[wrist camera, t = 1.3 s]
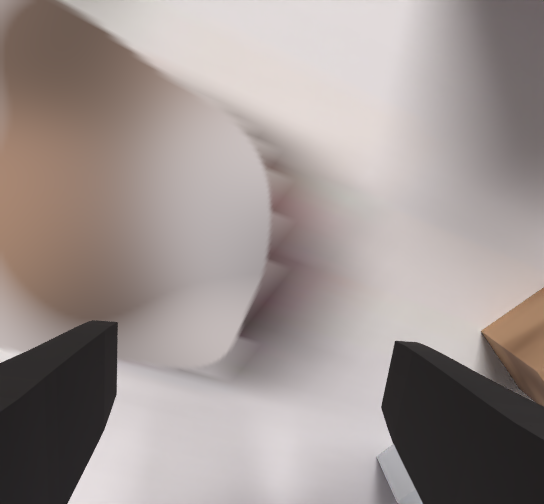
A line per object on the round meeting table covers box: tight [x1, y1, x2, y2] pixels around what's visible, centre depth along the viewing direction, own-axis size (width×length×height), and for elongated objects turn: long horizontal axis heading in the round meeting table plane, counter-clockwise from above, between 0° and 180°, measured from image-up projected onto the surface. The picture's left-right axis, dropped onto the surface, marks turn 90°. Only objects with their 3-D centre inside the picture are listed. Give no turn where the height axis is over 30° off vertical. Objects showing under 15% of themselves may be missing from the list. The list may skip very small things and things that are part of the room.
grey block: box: [377, 444, 423, 504], centre depth 23 cm, size 6×6×4 cm
